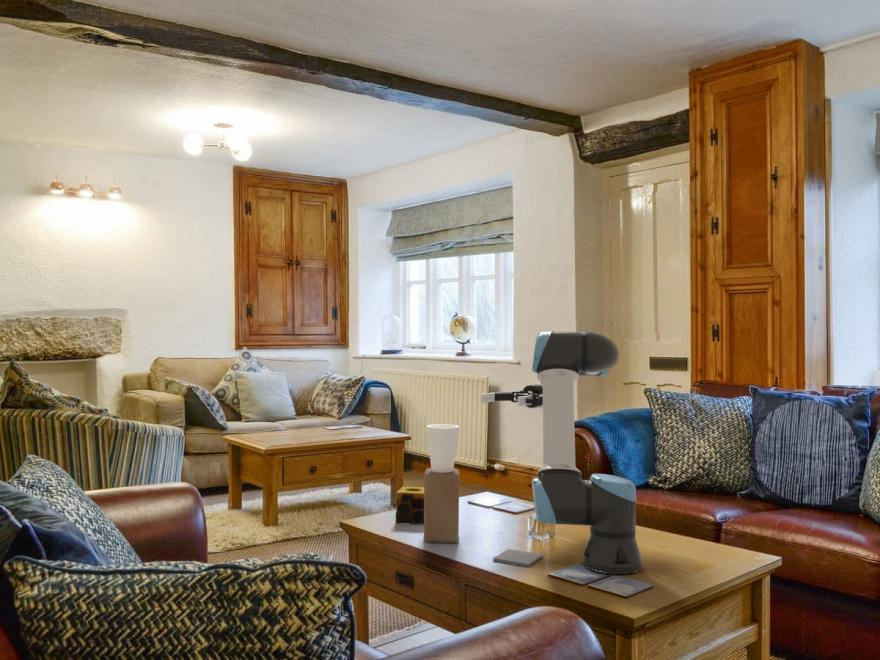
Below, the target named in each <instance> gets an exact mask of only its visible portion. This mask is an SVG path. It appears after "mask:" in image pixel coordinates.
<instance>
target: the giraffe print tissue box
mask: <svg viewBox="0 0 880 660" xmlns="http://www.w3.org/2000/svg"><path fill="white" fill-rule="evenodd" d="M395 494H396V496H395V497H396V502H395V505H396V509H395V510H396V511H395V523H396V524H399V523H409V524H408V525H420V524H424V486H402V487H400V489H398V490H397V491H396V493H395Z"/></svg>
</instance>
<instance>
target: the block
mask: <svg viewBox="0 0 880 660" xmlns="http://www.w3.org/2000/svg"><path fill="white" fill-rule="evenodd" d="M423 483H424V484H423V485H424V486H423V487H424V525H423V541H424V542H425V543H427V542H439V543H440V542H441V544H456V543H458V542H459V531H460V529H459V527H460V526H459V523H460V521H459V520H460V512H459V511H460V470H459V469H458V468H456V467H454V468H453V471H452V472H445V473H440V472H433V471H432V470H431V467H429V468H428V467H427V468H426V469H425V473H424V482H423ZM439 543H438V544H439Z"/></svg>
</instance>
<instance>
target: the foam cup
mask: <svg viewBox="0 0 880 660" xmlns="http://www.w3.org/2000/svg"><path fill="white" fill-rule="evenodd" d="M426 435H427V443H428V451H429V452H428V453H429V459H430V460H429V461H430V468H431V470H432V471H433V472H440V473H445V472H452V471H453V468H455V458H456V452H457V445H458V438H459V435H460V426H459V425H456V424H450V423H449V424H448V423H447V424H446V423H445V424H443V423H440V424H439V423H437V424H436V423H435V424H428V425H426Z"/></svg>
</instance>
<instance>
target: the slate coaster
mask: <svg viewBox="0 0 880 660" xmlns="http://www.w3.org/2000/svg"><path fill="white" fill-rule="evenodd" d="M543 555H544V554H542V553H538V552H530V551H525V550H518V549H511V548H508V549H506V550H504V551H502V552H500V553H499V554H497V555H496V556H494V557H493V562H497V563H503V564H509V565H514V566H521V567H526V568H529V567H531V566H532V565H533V564H535V563H536V562H539V560H541V559H542V558H543Z"/></svg>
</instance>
